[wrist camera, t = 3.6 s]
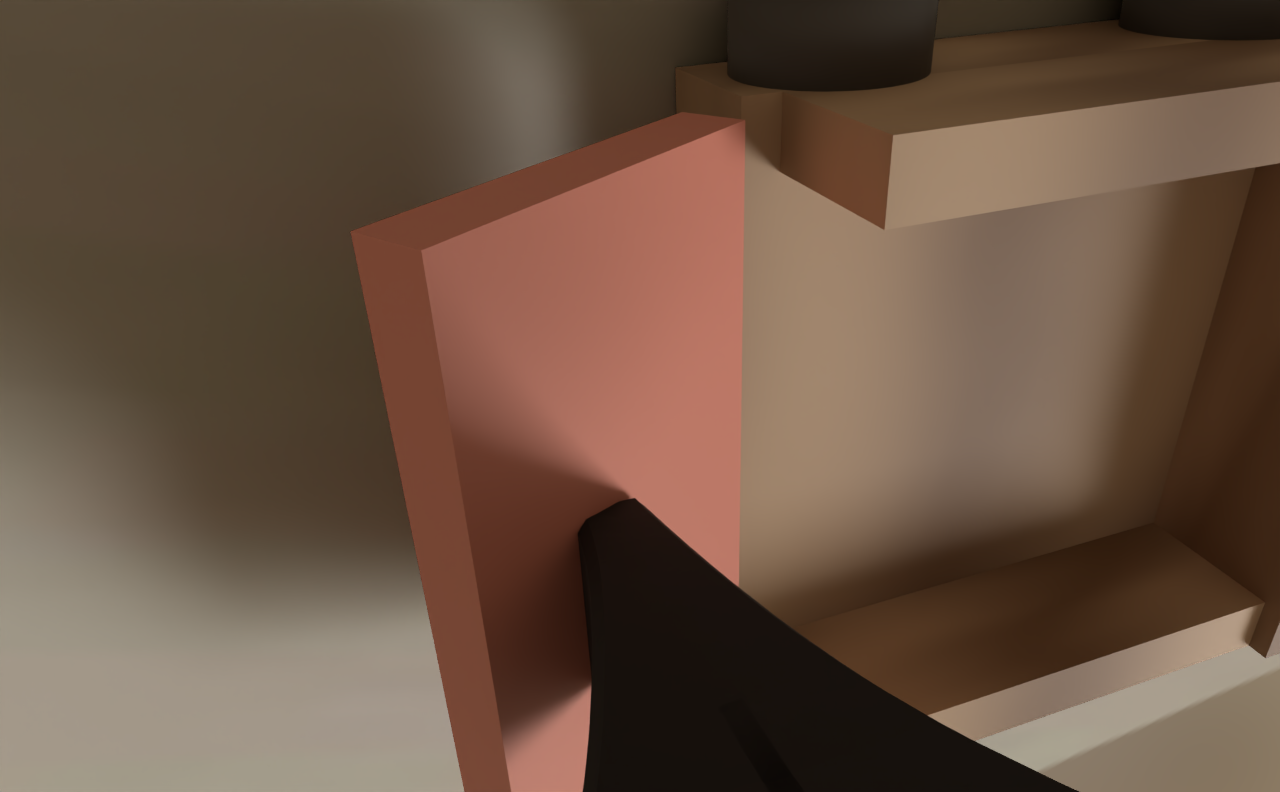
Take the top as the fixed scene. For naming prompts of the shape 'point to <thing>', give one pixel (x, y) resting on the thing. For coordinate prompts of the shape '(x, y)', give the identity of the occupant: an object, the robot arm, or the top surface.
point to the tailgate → (558, 409)
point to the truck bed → (1008, 343)
